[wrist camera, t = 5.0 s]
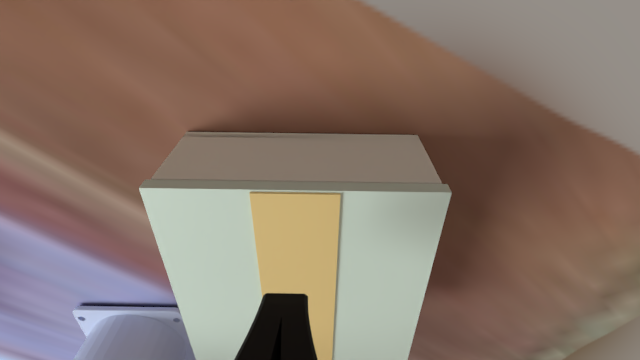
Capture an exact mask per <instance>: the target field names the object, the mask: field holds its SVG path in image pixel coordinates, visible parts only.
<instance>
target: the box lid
mask: <svg viewBox="0 0 640 360" xmlns="http://www.w3.org/2000/svg"><path fill="white" fill-rule="evenodd" d="M139 190H140V193H141V196H142V199H143V202H144V205H145V208H146V211H147V214H148V217H149V220H150V223H151V226H152V229H153V232H154V235H155V238H156V241H157V244H158V247H159V250H160V253H161V256H162V259H163V262H164V265H165V268H166V271H167V274H168V277H169V280H170V283H171V286H172V289H173V292H174V295H175V298H176V301H177V304H178V307H179V310H180V313H181V316H182V319H183V322H184V325H185V328H186V331H187V334H188V337H189V340H190V343H191V346H192V349H193V352H194V355H195V358H196V360H234V359H235V357H236V355H237V353H238V351H239V349H240V348H241V346H242V344H243V342H244V340H245V338H246V336H247V334H248V332H249V329H250V327H251V325H252V323H253V321H254V319H255V316H256V314H257V311H258V309H259V306H260V304H261V301H262V298H263V295H265V294H266V293H293V294H306V295H307V296H308V313H309V321H310V327H311V333H312V338H313V343H314V347H315V351H316V355H317V359H318V360H407V359H408V355H409V352H410V348H411V344H412V340H413V337H414V333H415V329H416V325H417V322H418V318H419V314H420V310H421V307H422V303H423V299H424V295H425V291H426V288H427V284H428V280H429V276H430V273H431V269H432V265H433V261H434V258H435V254H436V250H437V246H438V243H439V239H440V235H441V231H442V227H443V224H444V220H445V216H446V212H447V209H448V205H449V201H450V197H451V194H452V192H451V190H450V188H449V186H448V184H409V183H341V182H272V181H204V180H145V181H144V182H143V183H142V184H141V186H140V187H139Z"/></svg>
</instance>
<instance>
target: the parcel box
mask: <svg viewBox="0 0 640 360" xmlns="http://www.w3.org/2000/svg"><path fill="white" fill-rule="evenodd" d="M151 180H204V181H272V182H341V183H409V184H442V182H441V180H440V178H439V176H438V174H437V172H436V170H435V168H434V166H433V164H432V162H431V160H430V158H429V156H428V154H427V152H426V150H425V149H424V147H423V145H422V143H421V141H420V139H419V137H418V135H385V134H313V133H242V132H186V133H185V135H184V136H183V137H182V139H181V140H180V141H179V143H178V144H177V145H176V146H175V148H174V149H173V150H172V152H171V153H170V154H169V156H168V157H167V158H166V160H165V161H164V162H163V163H162V165H161V166H160V167H159V169H158V170H157V171H156V173H155V174H154V175H153V177H152V178H151Z"/></svg>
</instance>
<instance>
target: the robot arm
mask: <svg viewBox="0 0 640 360" xmlns="http://www.w3.org/2000/svg"><path fill="white" fill-rule="evenodd" d="M73 315H74V317H75V318H76V320H77V322H78V323H79V325H80V327H81V329H82V330H83V332H84V334H85V335H86V337H87V338H86V340H85V341H84V343H83V345H82V346H81V348H80V349H79V351H78V353H77V354H76V356H75V358H74V359H73V360H196V358H195V355H194V352H193V349H192V346H191V343H190V340H189V337H188V334H187V331H186V328H185V325H184V322H183V319H182V316H181V313H180V310H179V308H176V307H116V306H77V307H75V309H74V310H73ZM234 360H318V359H317V355H316V351H315V347H314V343H313V338H312V333H311V327H310V321H309V313H308V296H307V295H306V294H293V293H266V294H265V295H263V298H262V301H261V304H260V306H259V309H258V311H257V314H256V316H255V319H254V321H253V323H252V325H251V327H250V329H249V332H248V334H247V336H246V338H245V340H244V342H243V344H242V346H241V348H240V349H239V351H238V353H237V355H236V357H235V359H234Z"/></svg>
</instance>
